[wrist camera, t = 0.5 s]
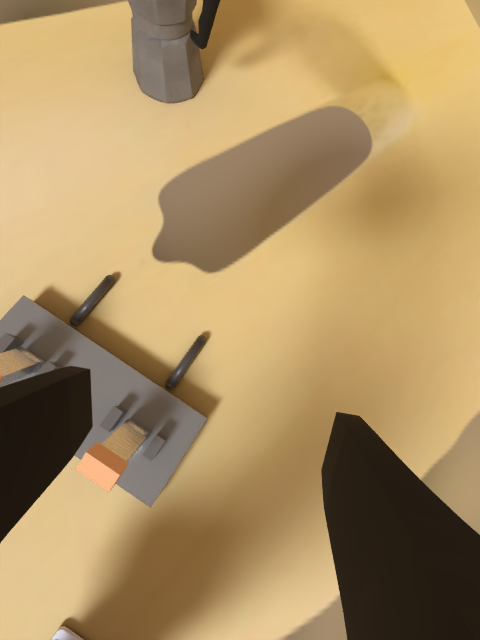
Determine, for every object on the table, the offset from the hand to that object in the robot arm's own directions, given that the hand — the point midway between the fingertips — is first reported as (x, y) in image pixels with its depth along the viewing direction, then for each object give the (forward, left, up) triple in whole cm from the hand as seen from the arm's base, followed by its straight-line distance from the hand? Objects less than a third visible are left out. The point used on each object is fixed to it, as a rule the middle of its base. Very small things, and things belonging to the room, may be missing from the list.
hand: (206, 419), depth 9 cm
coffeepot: (+33, +27, -25) cm, 49 cm away
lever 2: (-5, +4, -22) cm, 23 cm away
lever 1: (-5, +16, -22) cm, 27 cm away
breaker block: (-2, +10, -24) cm, 26 cm away
